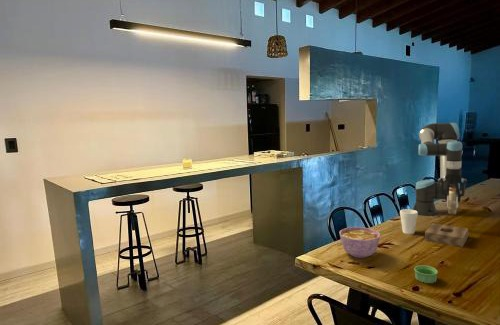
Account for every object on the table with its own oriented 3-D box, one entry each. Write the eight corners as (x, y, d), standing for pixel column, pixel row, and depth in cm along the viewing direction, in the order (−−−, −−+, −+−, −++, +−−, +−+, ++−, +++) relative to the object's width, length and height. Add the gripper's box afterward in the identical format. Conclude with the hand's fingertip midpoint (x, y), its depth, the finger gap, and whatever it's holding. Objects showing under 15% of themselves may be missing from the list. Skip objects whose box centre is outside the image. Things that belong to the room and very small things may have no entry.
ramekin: (429, 273, 147) (430, 264, 147) (442, 283, 138) (442, 273, 138) (410, 275, 147) (410, 265, 146) (421, 285, 138) (421, 275, 138)
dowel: (447, 213, 197) (448, 187, 194) (449, 211, 200) (449, 186, 197) (455, 214, 194) (456, 188, 192) (456, 212, 197) (457, 186, 195)
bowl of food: (332, 251, 177) (331, 230, 175) (362, 244, 184) (362, 224, 182) (356, 266, 158) (356, 243, 157) (389, 258, 165) (389, 236, 163)
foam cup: (399, 233, 197) (399, 212, 195) (400, 229, 205) (400, 208, 203) (417, 235, 193) (417, 214, 191) (417, 230, 201) (417, 210, 199)
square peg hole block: (424, 240, 185) (425, 231, 184) (432, 231, 198) (432, 223, 198) (462, 247, 173) (462, 238, 173) (467, 237, 187) (468, 228, 186)
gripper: (435, 168, 196) (435, 206, 199) (470, 169, 185) (468, 210, 188) (438, 166, 201) (437, 203, 205) (471, 167, 190) (470, 207, 194)
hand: (452, 206), depth 196 cm, fingers closed on dowel, 4 cm apart
